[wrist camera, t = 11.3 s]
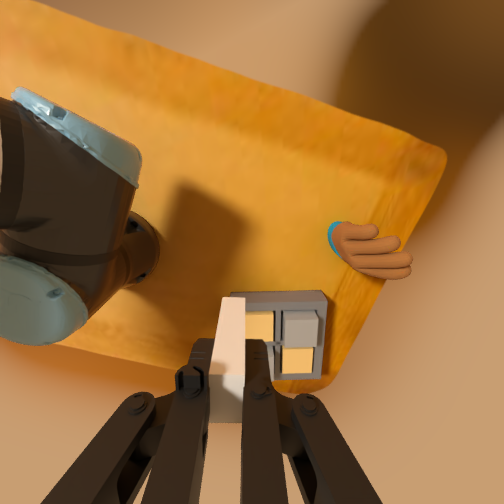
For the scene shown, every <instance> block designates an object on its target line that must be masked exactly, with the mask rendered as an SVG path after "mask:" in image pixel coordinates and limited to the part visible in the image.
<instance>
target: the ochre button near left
mask: <svg viewBox="0 0 504 504" xmlns="http://www.w3.org/2000/svg"><path fill="white" fill-rule="evenodd" d="M245 339H263V341H264V342H268V341H273V311H245Z"/></svg>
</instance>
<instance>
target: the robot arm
mask: <svg viewBox="0 0 504 504" xmlns="http://www.w3.org/2000/svg"><path fill="white" fill-rule="evenodd" d="M11 98H12V99H13V101H10V100H7V99H4V98H1V97H0V337H2V338H5V339H7V340H10V341H13V342H16V343H20V344H24V345H32V346H42V345H49V344H52V343H56V342H59V341H62V340H63V339H65V338H67V337H68V336H69V335H71V334H72V333H74V332H75V331H76V330H78V329H79V328H81V327H82V326H84V324H85V323H86V321H87V320H88V319H89V318H90V317H91V316H92V315H93V314H95V313H96V312H97V311H98V310H99V309H100V308H101V307H102V306H103V305H104V304H105V303H106V302H107V301H108V300H109V299H110V298H111V297H112V296H113V295H114V294H115V293H116V292H117V291H118V290H119V289H123V288H126V287H129V286H133V285H135V284H137V283H139V282H141V281H142V280H144V279H145V278H146V277H147V276H148V275H149V274H150V273H151V272H152V271H153V269H154V268H155V266H156V264H157V262H158V258H159V243H158V239H157V237H156V234H155V232H154V231H153V229H152V228H151V226H150V225H149V224H148V223H147V222H146V221H145V220H144V219H143V218H142V217H141V216H139V215H138V214H136V213H134V212H132V211H130V210H131V206H132V202H133V199H134V195H135V191H136V188H137V189H138V188H139V184H138V179H139V175H140V170H141V166H142V156H141V153H140V151H139V150H138V148H137V147H136V146H135V145H133V144H132V143H130V142H129V141H127V140H125V139H123V138H121V137H119V136H117V135H115V134H113V133H112V132H110V131H108V130H106V129H104V128H102V127H100V126H98V125H96V124H94V123H92V122H90V121H88V120H86V119H85V118H83V117H81V116H79V115H77V114H75V113H73V112H71V111H69V110H67V109H65V108H63V107H61V106H60V105H58V104H56V103H54V102H52V101H50V100H48V99H46V98H44V97H42V96H40V95H38V94H36V93H34V92H32V91H30V90H28V89H26V88H24V87H17V88H16V89H15V91H14V92H12V93H11ZM175 384H176V390H175V391H174V392H172V393H170V394H168V395H165V396H161V397H158V398H154V396H153V395H152V394H150V393H148V392H138V393H135V394H133V395H131V396H129V397H128V398H127V399H125V400H124V402H122V404H121V405H120V406H119V407H118V409H117V410H116V411H115V412H114V414H113V415H112V416H111V417H110V418H109V420H108V421H107V422H106V423H105V425H104V426H103V427H102V428H101V430H100V431H99V432H98V433H97V434H96V436H95V437H94V438H93V439H92V441H91V442H90V443H89V444H88V446H87V447H86V448H85V449H84V451H83V452H82V453H81V454H80V456H79V457H78V458H77V459H76V460H75V462H74V463H73V464H72V465H71V467H70V468H69V469H68V470H67V472H66V473H65V474H64V475H63V477H62V478H61V479H60V480H59V481H58V483H57V484H56V485H55V486H54V488H53V489H52V490H51V492H50V493H49V494H48V495H47V496H46V498H45V499H44V500H43V501H42V503H41V504H133V502H134V500H135V498H136V496H137V494H138V492H139V491H140V488H141V487H142V485H143V483H144V481H145V479H146V477H147V475H148V474H149V472H150V470H151V472H150V475H149V479H148V482H147V485H146V488H145V492H144V495H143V498H142V501H141V504H199V496H200V489H201V482H202V475H203V467H204V461H205V454H206V446H207V439H208V423H242V438H241V495H240V497H241V498H240V504H288V496H287V488H286V480H285V472H284V464H283V456H282V453H284V454H287V456H288V459H289V462H290V464H291V467H292V470H293V473H294V476H295V478H296V481H297V484H298V486H299V489H300V492H301V495H302V498H303V500H304V503H305V504H383V503H382V502H381V500H380V498H379V497H378V495H377V493H376V492H375V490H374V488H373V487H372V485H371V483H370V482H369V480H368V478H367V476H366V475H365V473H364V471H363V470H362V468H361V466H360V465H359V463H358V461H357V460H356V458H355V456H354V455H353V453H352V452H351V450H350V448H349V446H348V445H347V443H346V441H345V439H344V438H343V436H342V434H341V433H340V431H339V429H338V428H337V426H336V425H335V423H334V421H333V419H332V418H331V416H330V414H329V413H328V411H327V409H326V408H325V406H324V404H323V403H322V402H321V401H320V400H319V399H318V398H317V397H315V396H314V395H311V394H300V395H297V396H296V397H295V398H294V399H292V398H288V397H285V396H283V395H281V394H280V393H278V392H277V391H276V390H275V389H274V387H273V386H272V383H271V376H270V368H269V360H268V351H267V345H266V344H265V342H264V341H263V339H245V298H240V297H223V298H222V303H221V309H220V315H219V320H218V326H217V331H216V337H215V339H207V338H199V339H198V340H197V341H196V342H195V343H194V344H193V348H192V351H191V354H190V358H189V361H188V364H187V365H185V366H183V367H181V368H180V369H179V370H178V371H177V373H176V374H175ZM151 468H152V469H151Z"/></svg>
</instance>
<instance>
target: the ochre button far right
mask: <svg viewBox="0 0 504 504" xmlns="http://www.w3.org/2000/svg"><path fill="white" fill-rule="evenodd" d="M312 359H313V347H290V348H285V347H284V345H280V362H281V368H282V374H288V373H312Z"/></svg>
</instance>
